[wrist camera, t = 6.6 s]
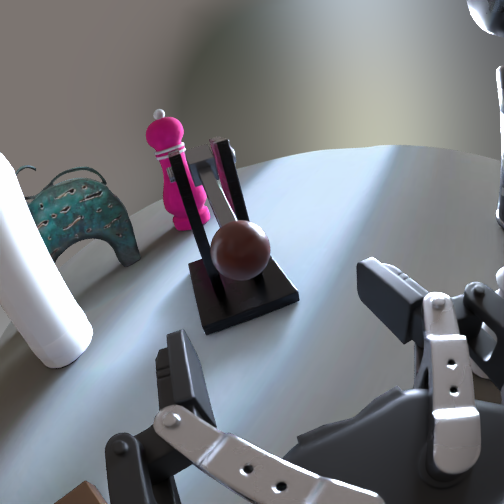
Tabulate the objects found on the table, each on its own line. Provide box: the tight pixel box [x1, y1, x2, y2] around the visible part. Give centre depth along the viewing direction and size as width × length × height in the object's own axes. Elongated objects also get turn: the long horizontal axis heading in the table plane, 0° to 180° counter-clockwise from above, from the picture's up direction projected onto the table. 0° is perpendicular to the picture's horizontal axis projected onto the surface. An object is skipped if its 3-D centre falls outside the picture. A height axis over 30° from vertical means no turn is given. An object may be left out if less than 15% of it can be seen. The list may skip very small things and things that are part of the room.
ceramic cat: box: [15, 165, 141, 266], centre depth 35 cm, size 20×6×20 cm, turn 131°
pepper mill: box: [146, 109, 210, 231], centre depth 45 cm, size 7×7×20 cm
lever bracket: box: [167, 137, 299, 335], centre depth 28 cm, size 12×9×15 cm
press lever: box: [184, 144, 270, 281], centre depth 21 cm, size 14×4×4 cm, turn 16°
